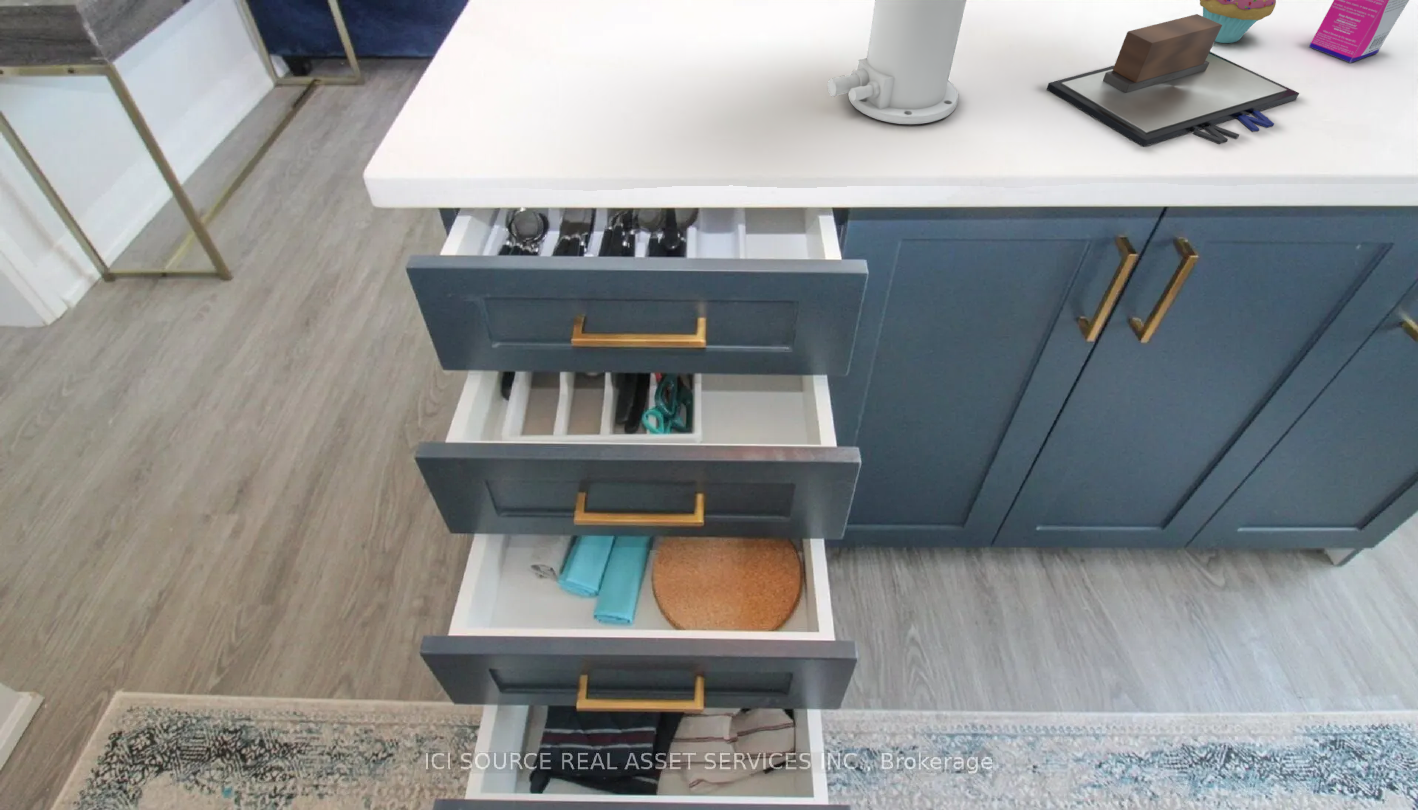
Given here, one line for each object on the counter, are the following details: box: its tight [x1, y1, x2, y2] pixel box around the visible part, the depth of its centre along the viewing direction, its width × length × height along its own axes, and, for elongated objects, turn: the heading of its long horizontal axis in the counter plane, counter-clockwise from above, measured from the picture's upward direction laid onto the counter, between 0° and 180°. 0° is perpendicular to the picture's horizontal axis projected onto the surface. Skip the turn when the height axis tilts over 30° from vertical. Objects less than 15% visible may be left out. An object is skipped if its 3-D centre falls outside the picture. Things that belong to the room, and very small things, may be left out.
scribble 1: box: [1192, 124, 1240, 145], centre depth 83 cm, size 4×3×1 cm
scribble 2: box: [1236, 110, 1275, 132], centre depth 84 cm, size 4×3×1 cm
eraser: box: [1103, 13, 1222, 93], centre depth 88 cm, size 13×4×6 cm, turn 115°
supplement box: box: [1309, 0, 1410, 64], centre depth 92 cm, size 6×6×12 cm
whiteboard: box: [1046, 51, 1300, 147], centre depth 89 cm, size 24×15×1 cm, turn 115°
